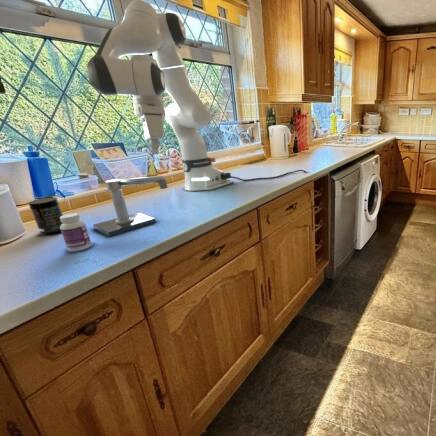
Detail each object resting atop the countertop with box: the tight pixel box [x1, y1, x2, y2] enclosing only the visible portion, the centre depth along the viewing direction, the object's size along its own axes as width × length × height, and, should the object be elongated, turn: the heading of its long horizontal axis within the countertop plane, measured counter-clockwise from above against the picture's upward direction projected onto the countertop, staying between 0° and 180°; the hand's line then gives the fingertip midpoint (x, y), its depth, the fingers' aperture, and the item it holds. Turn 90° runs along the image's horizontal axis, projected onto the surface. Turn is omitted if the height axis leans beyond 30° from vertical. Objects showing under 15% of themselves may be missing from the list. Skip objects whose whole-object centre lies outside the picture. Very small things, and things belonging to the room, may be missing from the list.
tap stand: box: [92, 188, 157, 237], centre depth 98 cm, size 14×12×12 cm
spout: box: [105, 175, 169, 192], centre depth 97 cm, size 17×4×4 cm, turn 105°
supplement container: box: [28, 197, 64, 236], centre depth 95 cm, size 7×7×10 cm
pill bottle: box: [60, 212, 92, 252], centre depth 83 cm, size 5×5×10 cm
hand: (155, 154), depth 102 cm, fingers closed
